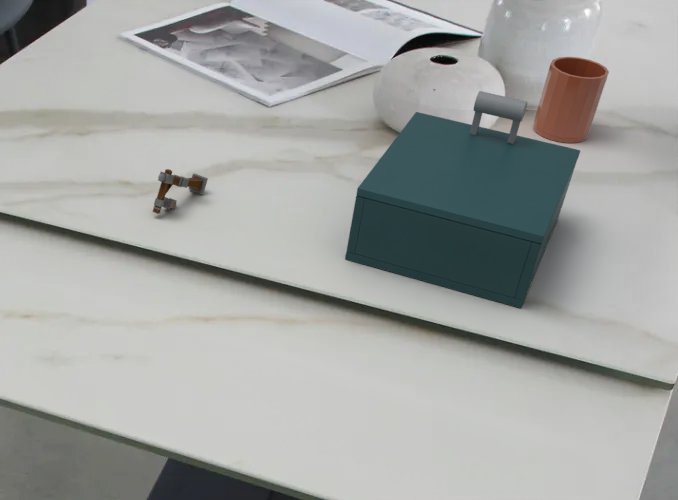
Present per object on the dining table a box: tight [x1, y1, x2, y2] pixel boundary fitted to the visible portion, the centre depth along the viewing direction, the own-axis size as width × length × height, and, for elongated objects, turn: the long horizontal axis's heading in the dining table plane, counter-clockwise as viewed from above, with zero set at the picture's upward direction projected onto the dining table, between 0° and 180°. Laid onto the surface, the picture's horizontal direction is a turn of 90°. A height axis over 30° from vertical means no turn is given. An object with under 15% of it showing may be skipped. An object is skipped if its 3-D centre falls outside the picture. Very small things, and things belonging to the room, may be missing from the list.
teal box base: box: [344, 163, 577, 309], centre depth 105 cm, size 20×18×7 cm
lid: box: [355, 90, 581, 244], centre depth 101 cm, size 21×18×5 cm
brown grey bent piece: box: [152, 168, 209, 215], centre depth 108 cm, size 2×8×4 cm, turn 145°
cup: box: [532, 56, 610, 144], centre depth 127 cm, size 7×7×8 cm
